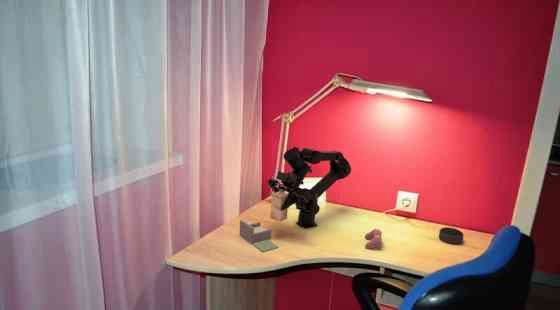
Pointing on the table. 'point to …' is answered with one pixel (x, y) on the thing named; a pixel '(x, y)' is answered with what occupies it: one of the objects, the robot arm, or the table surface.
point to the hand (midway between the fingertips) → (276, 208)
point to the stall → (254, 232)
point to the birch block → (278, 206)
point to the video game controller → (376, 238)
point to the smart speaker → (451, 235)
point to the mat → (265, 245)
